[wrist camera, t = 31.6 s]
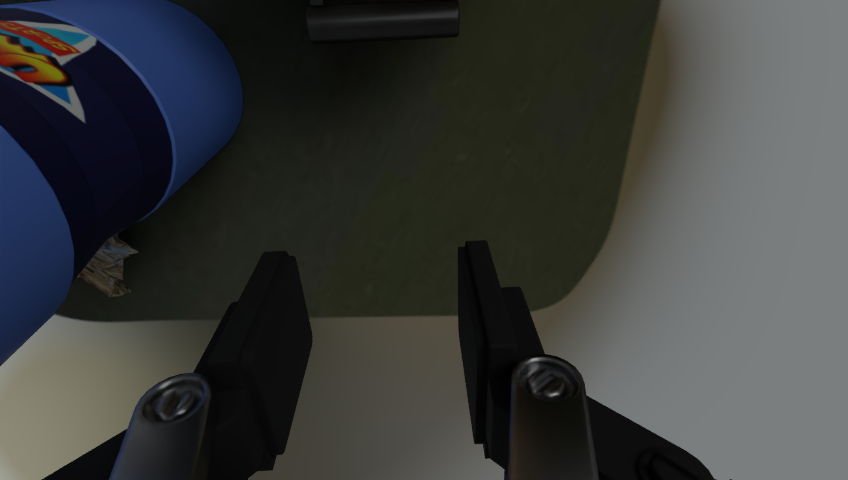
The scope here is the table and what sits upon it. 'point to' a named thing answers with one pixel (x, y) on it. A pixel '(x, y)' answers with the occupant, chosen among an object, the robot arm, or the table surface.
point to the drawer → (381, 21)
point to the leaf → (108, 267)
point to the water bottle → (96, 134)
